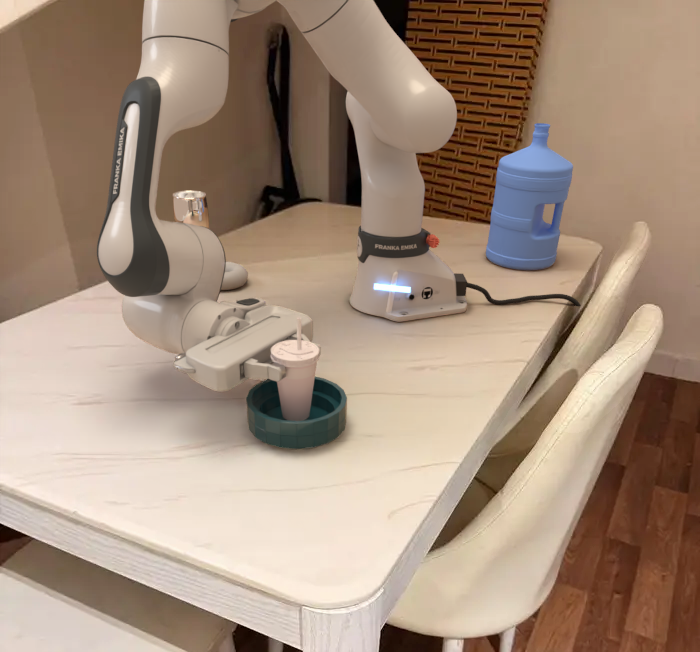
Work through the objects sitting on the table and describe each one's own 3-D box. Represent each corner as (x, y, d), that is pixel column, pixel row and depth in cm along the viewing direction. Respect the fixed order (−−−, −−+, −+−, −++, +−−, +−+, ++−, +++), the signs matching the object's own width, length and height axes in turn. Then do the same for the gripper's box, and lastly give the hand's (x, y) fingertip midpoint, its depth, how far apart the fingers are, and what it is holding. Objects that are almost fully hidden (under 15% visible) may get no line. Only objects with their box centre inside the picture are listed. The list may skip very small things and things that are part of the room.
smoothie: (312, 429, 92) (313, 330, 84) (266, 423, 93) (262, 324, 85) (324, 406, 97) (325, 311, 90) (279, 400, 98) (277, 305, 90)
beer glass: (181, 262, 150) (173, 189, 142) (214, 262, 151) (208, 190, 142) (177, 273, 145) (169, 198, 136) (211, 273, 145) (205, 198, 137)
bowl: (335, 398, 103) (335, 371, 100) (355, 447, 92) (356, 418, 90) (243, 406, 100) (242, 378, 98) (253, 457, 90) (252, 427, 87)
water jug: (477, 265, 155) (496, 126, 139) (493, 245, 167) (512, 116, 151) (548, 276, 150) (576, 134, 134) (559, 255, 162) (586, 122, 146)
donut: (215, 273, 146) (188, 287, 138) (213, 256, 144) (186, 270, 136) (257, 280, 143) (232, 295, 135) (256, 263, 141) (231, 278, 134)
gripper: (162, 340, 87) (248, 370, 81) (264, 293, 102) (343, 315, 96) (168, 385, 91) (251, 417, 85) (265, 333, 105) (342, 357, 99)
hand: (301, 363), depth 90 cm, fingers closed on smoothie, 6 cm apart
